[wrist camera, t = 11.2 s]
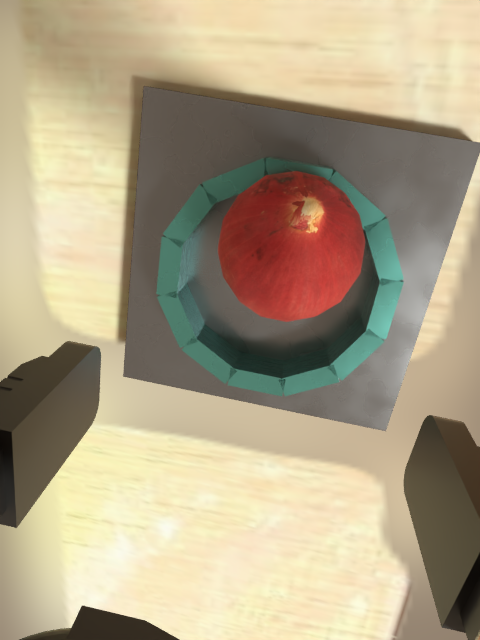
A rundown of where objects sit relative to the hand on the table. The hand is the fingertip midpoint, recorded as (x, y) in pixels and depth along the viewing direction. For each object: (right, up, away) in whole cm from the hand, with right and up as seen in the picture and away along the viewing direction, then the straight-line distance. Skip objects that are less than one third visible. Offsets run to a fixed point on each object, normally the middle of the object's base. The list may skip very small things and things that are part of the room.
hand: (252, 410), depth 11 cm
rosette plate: (+2, +5, +13) cm, 14 cm away
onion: (+2, +4, +11) cm, 12 cm away
